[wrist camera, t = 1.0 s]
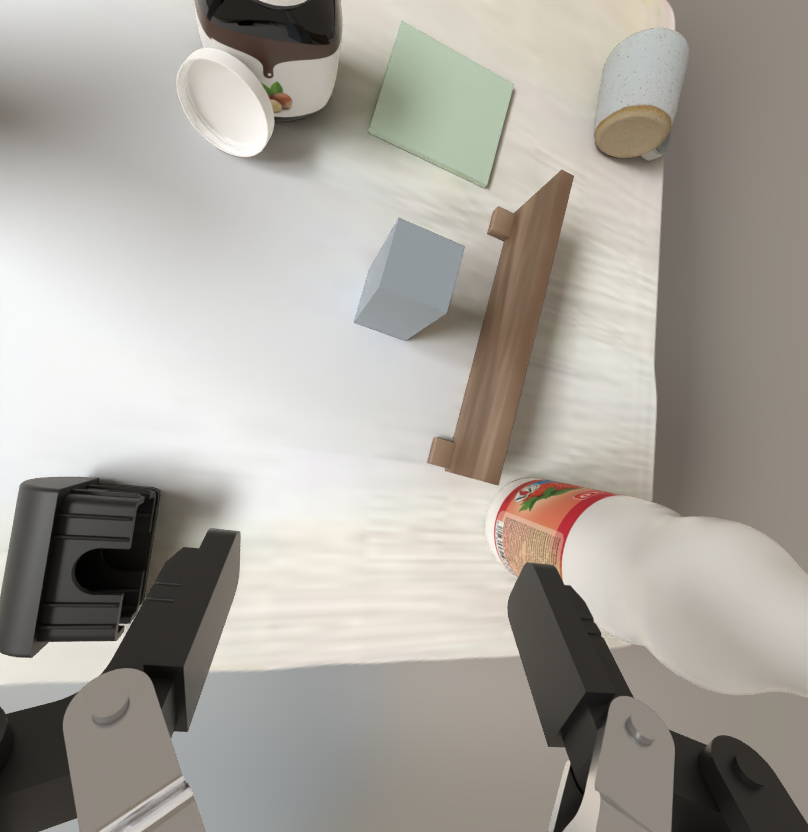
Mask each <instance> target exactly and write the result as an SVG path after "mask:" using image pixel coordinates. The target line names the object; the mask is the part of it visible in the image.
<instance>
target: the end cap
mask: <svg viewBox="0 0 808 832" xmlns="http://www.w3.org/2000/svg"><path fill="white" fill-rule="evenodd" d="M159 500H160V491H159V490H158V489H157V488H154V487H144V486H131V485H118V484H106V483H99V478H89V477H46V478H35V479H30V480H27V481H24V482H23V483H21V484H20V487H19V492H18V498H17V504H16V510H15V515H14V521H13V527H12V533H11V538H10V544H9V550H8V556H7V561H6V567H5V573H4V579H3V584H2V590H1V596H0V653H2V654H5V655H8V656H13V657H25V658H32V657H33V656H34V655H36V654H37V653H38V652H39V651H40V650H41V649H42V648H43V647H44V646H45V645H46V644H47V643H48V642H72V641H117V640H118V638H119V637H120V636H121V634H122V633H123V632H124V626H119V624H128V623H131V621H132V620H133V619H134V617H135V616H136V614H137V612H138V608H139V606H140V605H141V604H142V602H143V600H144V597H145V590H146V584H147V577H148V571H149V564H150V558H151V551H152V545H153V538H154V532H155V525H156V519H157V513H158V506H159Z"/></svg>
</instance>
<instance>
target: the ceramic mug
mask: <svg viewBox="0 0 808 832" xmlns="http://www.w3.org/2000/svg"><path fill="white" fill-rule="evenodd" d="M688 60H689V48H688V44H687V41H686V40H685V38H684V37H683V36H682V35H680V33H678V32H677V31H674V30H671V29H666V28H651V29H647V30H643V31H640V32H637V33H635V34H633V35H631V36H629V37H628V38H626V39H625V40H623V41H622V42H621V43H619V44H618V45H617V46H616V47H615V48H614V50H613V51H612V52H611V53H610V55H609V56H608V58H607V60H606V62H605V64H604V68H603V73H602V80H601V86H600V92H599V99H598V105H597V111H596V117H595V122H594V137H595V142H596V145H597V146H598V147H599V149H600V150H601V151H603V152H604V153H605V154H607V155H610V156H613V157H617V158H630V157H637V156H640V155H641V157H642V158H644V159H645V160H647V161H650V160H654V159H657V158H659V157H661V156H663V155H664V154H665V153H666V151H667V149H668V146H669V142H670V137H671V128H672V125H673V123H674V120H675V117H676V113H677V108H678V102H679V98H680V93H681V90H682V86H683V81H684V77H685V73H686V69H687V65H688Z"/></svg>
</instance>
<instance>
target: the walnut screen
mask: <svg viewBox="0 0 808 832" xmlns="http://www.w3.org/2000/svg"><path fill="white" fill-rule="evenodd" d="M573 178H574V176H573V175H571V174H569V173H567V172H565V171H564V170H561V171H560V172H559V173H558V174H557V175H555V176H554V177H553V178H552V179H551V180H550V181H549V182H548V183H547V184H546V185H544V186H543V187H542V188H541V189H540V190H539V191H538V192H537V193H536V194H535V195H533V196H532V197H531V198H530V199H529V200H528V201H527V202H526V203H525V204H524V205H522V206H521V207H520V208H519V209H518V210H517V211H516V212H515V213H512V212H509V211H507V210H505V209H503V208H501V207H499V206H498V207H497V208H496V209H495V210H494V211H493V214H492V218H491V222H490V226H489V229H488V233H487V234H489V235H491V236H493V237H496V238H498V239H500V240H502V241H504V244H503V248H502V252H501V255H500V259H499V263H498V267H497V271H496V275H495V279H494V283H493V286H492V290H491V294H490V298H489V302H488V306H487V310H486V314H485V317H484V321H483V325H482V329H481V333H480V337H479V341H478V345H477V348H476V352H475V356H474V360H473V364H472V368H471V372H470V376H469V379H468V383H467V387H466V391H465V395H464V399H463V403H462V407H461V410H460V414H459V418H458V422H457V426H456V430H455V434H454V438H453V441H452V442H450V441H447V440H443V439H440V438H434V439H433V443H432V446H431V450H430V454H429V458H428V462H427V463H430V464H434V465H437V466H441V467H445V468H446V469H445V471H447V472H451V473H454V474H458V475H462V476H466V477H469V478H473V479H477V480H480V481H484V482H488V483H491V484H495V485H499V481H500V477H501V473H502V468H503V464H504V460H505V456H506V452H507V448H508V444H509V440H510V436H511V432H512V428H513V423H514V419H515V415H516V411H517V407H518V403H519V399H520V395H521V391H522V387H523V383H524V378H525V374H526V370H527V366H528V362H529V358H530V354H531V350H532V346H533V342H534V337H535V333H536V329H537V325H538V321H539V317H540V313H541V309H542V305H543V301H544V297H545V292H546V288H547V284H548V280H549V276H550V272H551V268H552V264H553V260H554V256H555V252H556V247H557V243H558V239H559V235H560V231H561V227H562V223H563V219H564V215H565V211H566V207H567V202H568V198H569V194H570V190H571V186H572V182H573Z"/></svg>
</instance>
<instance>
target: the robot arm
mask: <svg viewBox="0 0 808 832" xmlns="http://www.w3.org/2000/svg"><path fill="white" fill-rule="evenodd" d="M239 570H240V531H231V530H221V529H212V528H211V529H209V530H208V532H207V534H206V536H205V538H204V540H203V542H202V544H201V546H200V548H199V549H198V548H188V547H183V548H182V549H181V550H180V551H178V552H177V553H176V554H175V555H174V556H173V557H172V558H170V559H169V560H168V561H167V562H166V563H165V565H164V567H163V568H162V570H161V572H160V574H159V576H158V577H157V579H156V582H155V585H153V586H152V588H151V590H150V592H149V594H148V595H147V599H146V601H144V603H143V604H142V606H141V608H140V610H139V612H138V613H137V615H136V617H135V619H134V621H133V622H132V624H131V626H130V628H129V630H128V631H127V633H126V635H125V637H124V639H123V640H122V642H121V644H120V646H119V648H118V649H117V651H116V653H115V655H114V657H113V658H112V660H111V662H110V663H109V665H108V666H107V668H106V669H105V670H104V671H103V673H102V674H101V675H100V676H98V677H97V678H95V679H93V680H92V681H91V682H89V683H88V684H87V685H85V686H84V687H83V688H82V689H81V690H80V691H79V692H77V693H75V694H73V695H71V696H69V697H67V698H64V699H62V700H59V701H56V702H52V703H48V704H44V705H40V706H36V707H32V708H28V709H24V710H20V711H17V712H13V713H9V714H5V712H4V711H3V709H2V708H1V707H0V832H39V831H42V830H45V829H48V828H50V827H53V826H56V825H59V824H62V823H64V822H67V821H70V820H73V819H76V818H78V825H79V830H80V832H205V828H204V825H203V822H202V819H201V816H200V813H199V810H198V807H197V804H196V801H195V799H194V796H193V793H192V791H191V789H190V786H189V785H188V783H186V782H185V780H184V777H183V775H182V772H181V769H180V766H179V763H178V760H177V757H176V754H175V750H174V747H173V744H172V741H171V737H172V734H173V732H174V731H180V732H188V730H189V727H190V724H191V721H192V718H193V715H194V712H195V709H196V706H197V703H198V700H199V698H200V695H201V692H202V689H203V686H204V683H205V680H206V677H207V674H208V671H209V668H210V666H211V663H212V660H213V657H214V654H215V651H216V648H217V645H218V642H219V639H220V636H221V634H222V631H223V628H224V625H225V622H226V619H227V616H228V613H229V610H230V607H231V604H232V602H233V599H234V596H235V592H236V588H237V584H238V579H239ZM508 617H509V621H510V625H511V628H512V631H513V634H514V638H515V641H516V644H517V647H518V650H519V654H520V657H521V660H522V663H523V667H524V670H525V673H526V676H527V680H528V683H529V686H530V689H531V693H532V696H533V699H534V702H535V705H536V709H537V712H538V715H539V718H540V722H541V725H542V728H543V731H544V735H545V738H546V741H547V744H548V747H565V748H566V751H567V754H568V757H569V759H568V761H567V762H566V765H565V767H564V771H563V775H562V779H561V783H560V787H559V790H558V794H557V798H556V801H555V806H554V809H553V813H552V817H551V821H550V824H549V828H548V832H808V824H807V823H806V821H805V819H804V818H803V816H802V815H801V813H800V812H799V810H798V808H797V807H796V805H795V804H794V802H793V801H792V799H791V797H790V796H789V794H788V793H787V791H786V790H785V788H784V786H783V785H782V783H781V782H780V780H779V779H778V777H777V775H776V774H775V773H774V771H773V770H772V769H771V767H770V766H769V765H768V763H767V762H766V761H765V760H764V759H763V758H762V757H761V756H760V755H759V754H758V753H757V752H756V751H754V750H753V749H752V748H751V747H749V746H748V745H746V744H745V743H743V742H742V741H740V740H738V739H736V738H733V737H730V736H724V735H723V736H722V735H721V736H717V737H716V738H714V739H713V740H712V741H711V742H710V743H709V744H708V745H705V744H703V743H700V742H698V741H695V740H693V739H690V738H688V737H685V736H683V735H680V734H678V733H676V732H673V731H671V730H669V729H668V728H667V726H666V725H665V723H664V722H663V721H662V719H661V718H660V717H659V716H658V715H657V714H656V713H655V711H653V710H652V709H651V708H650V707H649V706H647V705H646V704H644V703H643V702H641V701H639V700H637V699H635V698H634V697H633V695H632V693H631V692H630V690H629V688H628V686H627V684H626V682H625V680H624V678H623V676H622V674H621V672H620V670H619V668H618V666H617V664H616V662H615V660H614V658H613V656H612V654H611V652H610V650H609V648H608V646H607V644H606V642H605V640H604V638H602V637H601V632H600V630H599V628H598V626H597V624H596V623H594V618H593V616H592V614H591V612H590V610H589V608H588V606H587V604H586V602H585V601H584V600H583V599H582V598H581V597H580V595H579V594H578V593H577V592H576V591H575V590H574V589H573V588H572V586H571V585H564V583H563V581H562V579H561V576H560V574H559V572H558V570H557V568H556V567H555V566H554V565H550V564H541V563H531V562H527V563H525V565H524V566H523V568H522V570H521V572H520V575H519V577H518V579H517V581H516V583H515V585H514V588H513V590H512V592H511V594H510V596H509V600H508Z"/></svg>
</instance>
